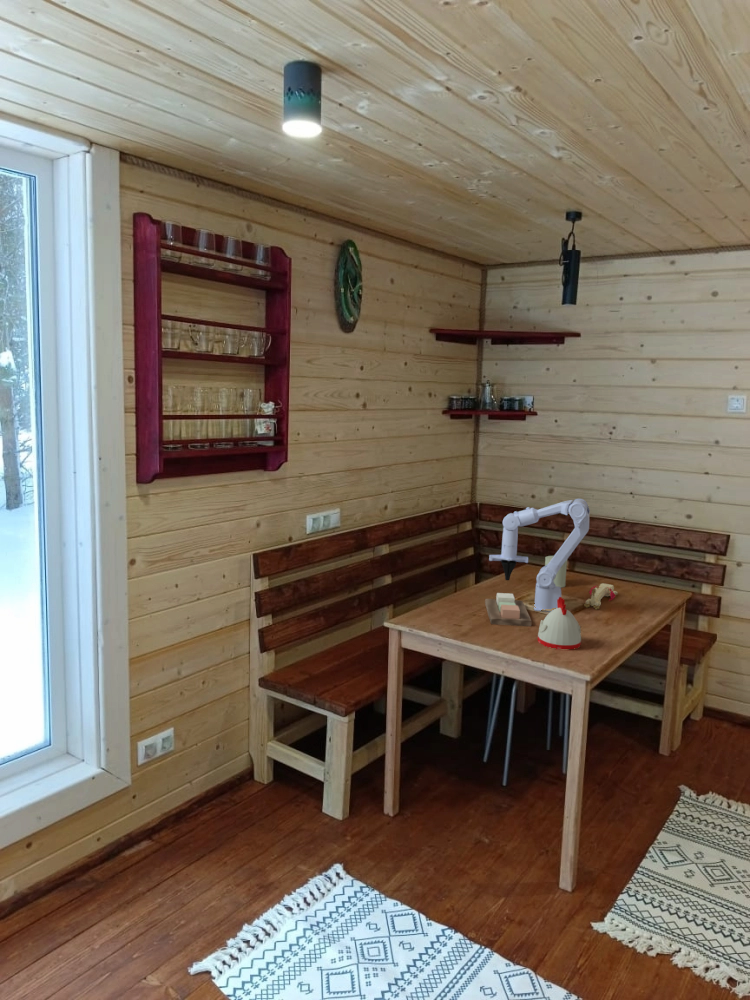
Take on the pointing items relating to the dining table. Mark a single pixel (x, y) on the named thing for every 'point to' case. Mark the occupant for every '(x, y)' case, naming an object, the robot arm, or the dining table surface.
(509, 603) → the sage button
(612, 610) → the dining table surface
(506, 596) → the cream button
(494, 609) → the brown tray
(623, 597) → the dining table surface
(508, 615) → the terracotta button
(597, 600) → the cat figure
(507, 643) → the dining table surface
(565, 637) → the kitchen timer
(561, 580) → the pale green cup
